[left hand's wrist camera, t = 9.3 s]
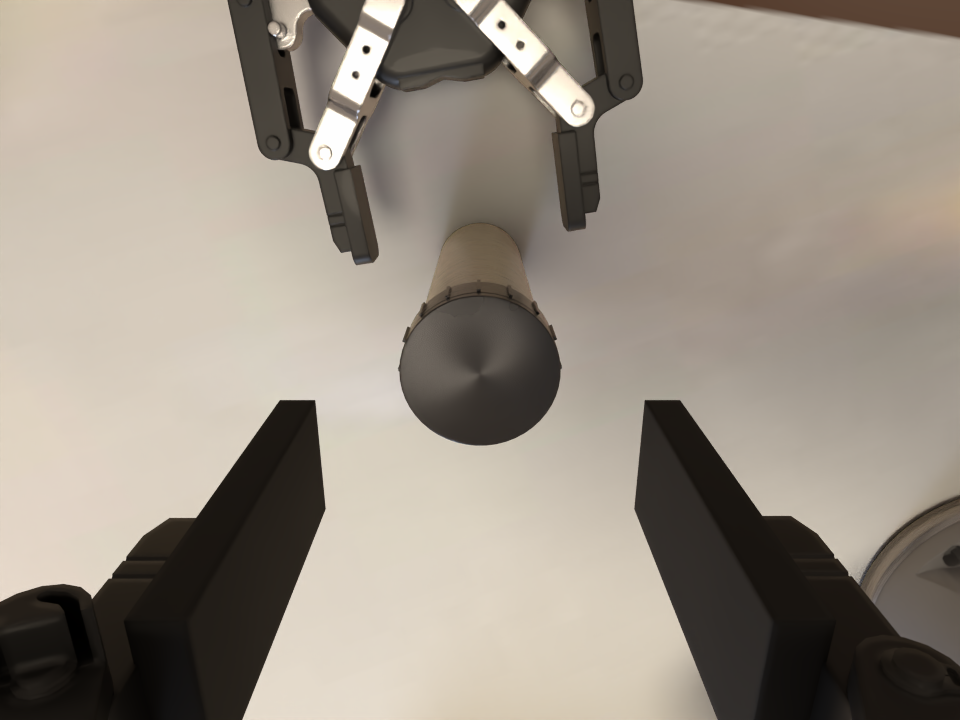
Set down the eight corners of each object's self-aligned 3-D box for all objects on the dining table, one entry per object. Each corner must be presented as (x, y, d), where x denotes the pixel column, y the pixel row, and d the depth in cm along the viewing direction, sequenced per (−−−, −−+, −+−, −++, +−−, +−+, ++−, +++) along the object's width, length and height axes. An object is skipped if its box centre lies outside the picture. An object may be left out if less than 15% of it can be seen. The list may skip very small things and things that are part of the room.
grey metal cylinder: (433, 296, 34) (400, 419, 20) (446, 215, 32) (421, 289, 19) (512, 309, 34) (534, 441, 20) (528, 231, 33) (564, 314, 19)
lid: (394, 409, 21) (387, 433, 20) (415, 267, 20) (410, 280, 18) (538, 433, 22) (542, 458, 20) (571, 294, 20) (578, 310, 18)
